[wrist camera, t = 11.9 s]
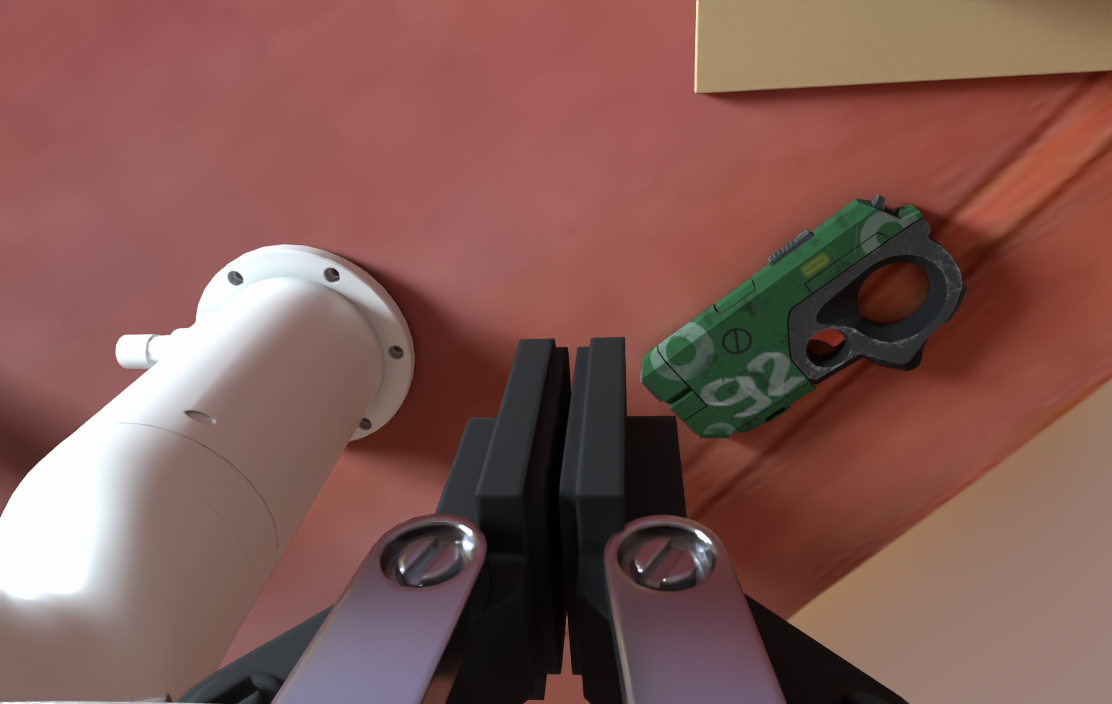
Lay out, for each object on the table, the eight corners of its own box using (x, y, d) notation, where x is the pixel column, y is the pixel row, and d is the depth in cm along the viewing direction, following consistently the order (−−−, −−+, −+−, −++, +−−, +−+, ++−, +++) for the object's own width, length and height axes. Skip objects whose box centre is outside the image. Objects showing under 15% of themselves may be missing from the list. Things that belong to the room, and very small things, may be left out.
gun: (737, 483, 43) (627, 370, 40) (734, 468, 45) (627, 358, 42) (999, 321, 37) (892, 175, 34) (987, 309, 39) (883, 167, 36)
